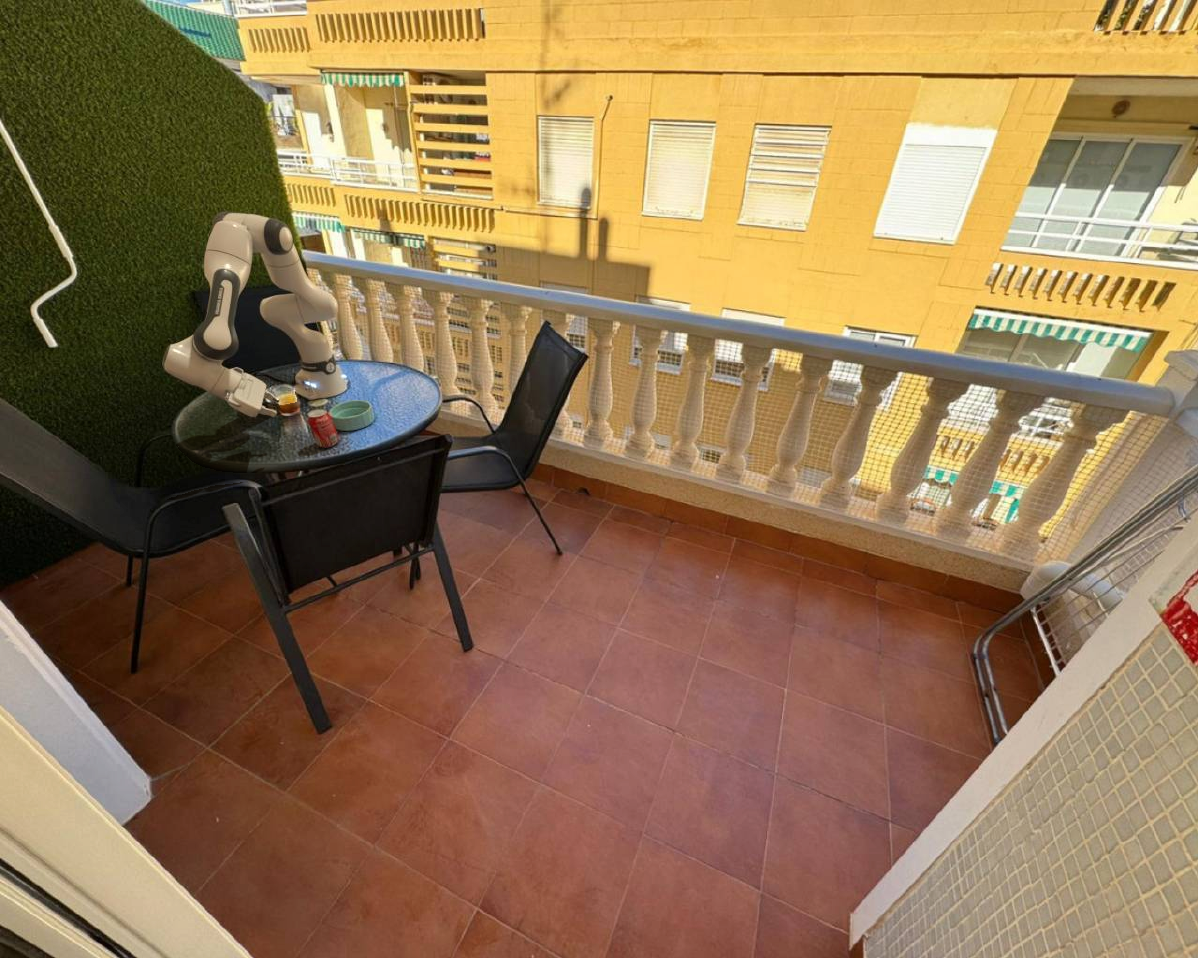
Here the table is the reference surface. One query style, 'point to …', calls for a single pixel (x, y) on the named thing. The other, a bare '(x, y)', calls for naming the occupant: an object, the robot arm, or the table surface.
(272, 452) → the table surface
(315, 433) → the soda can
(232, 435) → the table surface
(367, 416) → the bowl
